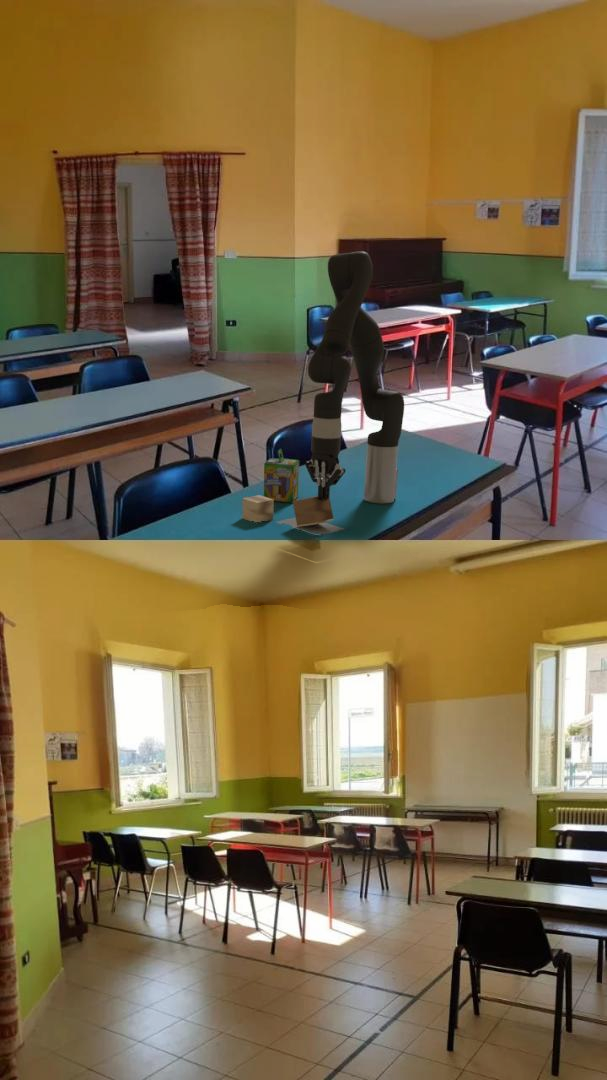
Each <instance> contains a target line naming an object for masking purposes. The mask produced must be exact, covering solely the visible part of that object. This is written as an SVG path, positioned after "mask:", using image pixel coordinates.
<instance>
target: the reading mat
mask: <svg viewBox="0 0 607 1080" xmlns="http://www.w3.org/2000/svg"><path fill="white" fill-rule="evenodd" d="M276 522H277V523H276V524H278V523H279V524H278V525H281V524H282V523H285V524H289V525H291V526H292V527H293V528H292V529H294V528H295V529H294V530H296V528H298V529H299V530H305V531H307V532H310V533H313V534H314V533H315V534H323V535H326V534H330V533H334V532H338V531H341V530H345V528H343V527H340V526H336V525H334V524H331V523H329V522H323V523H319V524H314V525H307V526H300V527H297V522H296V517H290V518H287V519H283V520H282V519H281V520H278V521H276ZM299 530H298V531H299Z"/></svg>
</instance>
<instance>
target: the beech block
mask: <svg viewBox="0 0 607 1080" xmlns="http://www.w3.org/2000/svg"><path fill="white" fill-rule="evenodd" d="M274 502H275V501H274V499H270V498H267V497H264V495H260V494H257V495H253V496H248V497H243V498H242V514H241V515H242V518H241V519H243V520H246V521H250V522H252V521H254V522H253V523H255V522H260V523H262V522H261V521H265V522H268V521H273V520H274V513H275V512H274V505H275V503H274Z"/></svg>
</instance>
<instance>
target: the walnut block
mask: <svg viewBox="0 0 607 1080" xmlns="http://www.w3.org/2000/svg"><path fill="white" fill-rule="evenodd" d="M330 497H331V496H329V498H328V500H325V501H322V500H319V497H318V495H316V496H312V497H311V496H310V497H305V498H301V499H295V501H293V503H292V506H293V511H294V516H295V517H296V522H297V527H300V526H307V525H314V524H319V523H323V522H325V523H328V522H331V521H335V519H334V513H333V509H332V504H331V498H330ZM295 517H294V518H295Z"/></svg>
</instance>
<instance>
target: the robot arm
mask: <svg viewBox="0 0 607 1080" xmlns="http://www.w3.org/2000/svg"><path fill="white" fill-rule="evenodd" d="M373 267H374V266H373V262H372V258H371V256H370V255H369V253H368V252H367V251H352V252H345V253H338V254H334V255H331V256H330V257H329V259H328V260H327V274H328V278H329V282H330V285H331V289H332V291H333V293H334V297H335V300H336V302H337V305H336V307H334V309H333V310H332V311H331V312H330V314H329V316H328V318H327V320H326V323H325V326H324V329H323V330H324V331H323V335H322V339H321V341H320V343H319V345H318V347H317V348H316V349H315V351H314V353H313V354H312V356H311V358H310V360H309V363H308V366H307V374H308V377H309V378H310V380H311V381H312V382H314V383H317V384H327V385H328V384H329V385H330V384H331V385H334V387H333V389H332V390H330V391H325V392H319V393H317V394H316V395H315V396H314V399H313V400H314V401H313V419H312V424H311V425H312V426H311V445H310V446H311V448H310V449H311V450H310V451H311V452H312V455H311V459H310V460H307V461H305V462H304V466H305V467H306V470H307V472H308V474H309V476H310V479H311V481H312V482H313V483H315V484H316V485H317V488H318V489H317V496H318V497H319V500H322V501H325V500H328V498H329V497H330V493H331V492H330V489H331V487H332V486H335V485H337V484H338V482H339V481H341V478H342V477H343V476H344V475H345V473H346V468H344V467H343V468H342V466H341V465H340V459H339V454H340V453H341V442H342V410H343V409H342V406H343V399H344V393H345V389H346V387H347V384H348V381H349V379H350V376H351V371H352V365H351V362H350V360H349V358H348V357H347V356H344V354H346V353H347V352H348V350H349V348H350V351H351V355H352V357H353V361H354V364H355V370H356V373H357V374H356V375H357V377H358V382H359V386H360V387H359V388H360V394H361V399H362V400H361V401H362V406H363V410H364V412H365V415H366V417H367V418H368V419H370V420H373V421H378V422H382V425H381V428H380V429H379V430H378V431H374V432H371V433H369V434H368V435H367V444H366V461H365V462H366V463H365V473H364V474H365V475H364V476H365V477H364V487H363V488H364V490H363V500H364V501H366V502H369V503H371V504H372V503H374V504H391V503H393V502H394V501H395V500H394V499H397V491H398V490H397V488H398V475H399V469H398V468H397V465H398V454H399V453H398V452H399V441H400V437H401V435H402V429H403V419H404V412H405V400H404V396H403V394H402V393H401V392H398V391H396V390H395V391H394V390H389V389H383V388H381V386H380V382H379V378H378V371H379V368H380V364H381V362H383V361H382V360H383V356H384V353H385V345H384V340H383V337H382V333H381V329H380V326H379V324H378V323H377V322H376V320H375V319H374V318H373V317H372V316H371V315H370V314H369V312H367V311H366V310H365V309H364V308H363V307H362V305H363V302H364V300H365V298H366V295H367V293H368V291H369V288H370V285H371V282H372V279H373V269H374V268H373Z"/></svg>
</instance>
